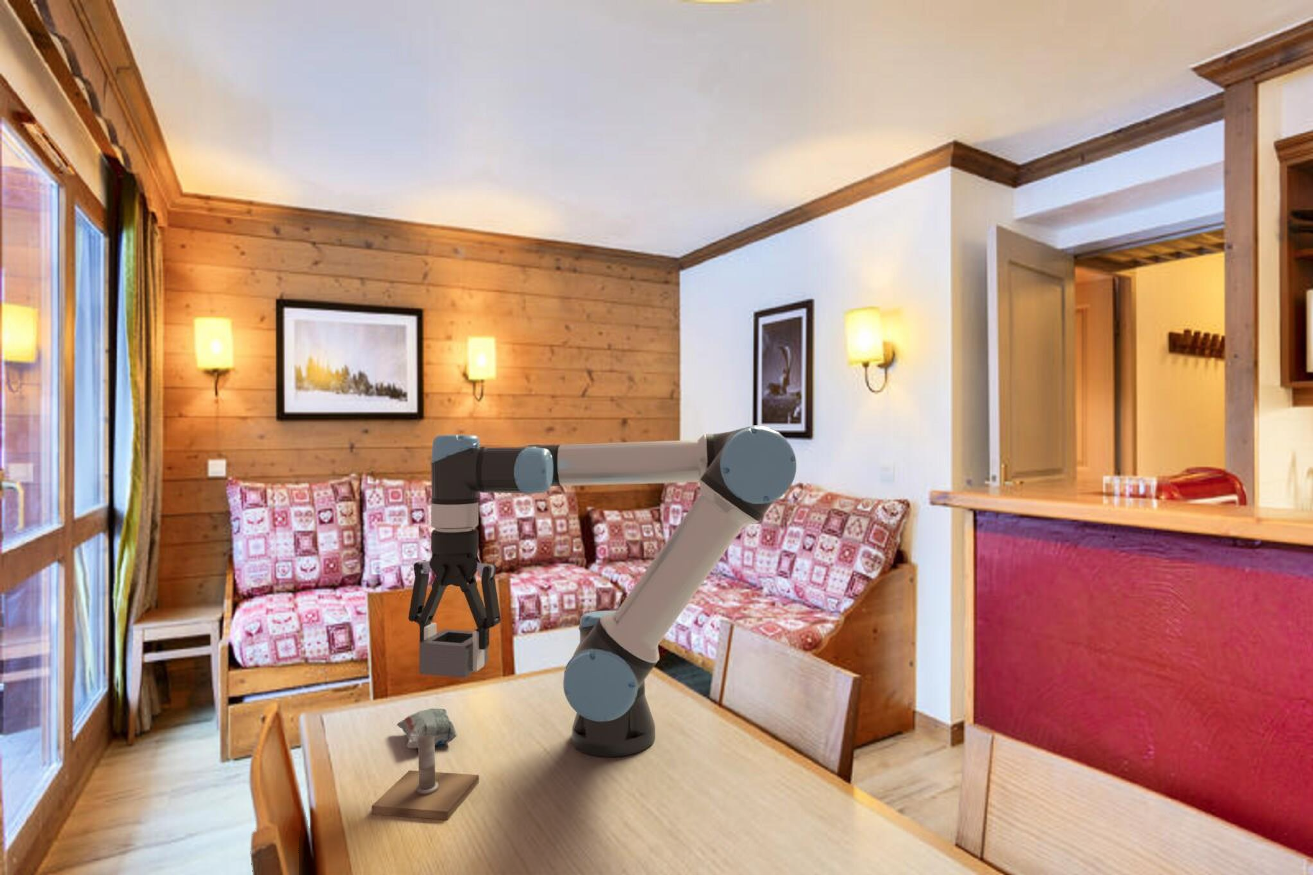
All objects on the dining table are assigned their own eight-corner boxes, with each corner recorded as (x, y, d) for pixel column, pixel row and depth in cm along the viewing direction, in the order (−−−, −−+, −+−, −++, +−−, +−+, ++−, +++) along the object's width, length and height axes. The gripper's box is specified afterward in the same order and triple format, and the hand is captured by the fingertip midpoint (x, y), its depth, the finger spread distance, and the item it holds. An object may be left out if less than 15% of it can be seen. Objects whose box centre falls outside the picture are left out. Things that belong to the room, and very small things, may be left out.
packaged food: (407, 759, 122) (407, 730, 122) (397, 734, 133) (396, 707, 133) (458, 748, 126) (457, 721, 126) (444, 724, 137) (444, 699, 137)
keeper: (478, 782, 114) (477, 725, 113) (447, 819, 103) (446, 756, 103) (409, 777, 115) (408, 721, 115) (371, 813, 105) (370, 751, 105)
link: (487, 661, 120) (487, 632, 120) (465, 678, 112) (465, 646, 112) (444, 658, 121) (444, 629, 121) (419, 673, 113) (419, 642, 113)
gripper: (523, 527, 118) (522, 663, 118) (410, 523, 122) (409, 654, 122) (504, 534, 110) (503, 679, 111) (384, 529, 115) (384, 668, 115)
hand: (454, 666), depth 116 cm, fingers closed on link, 8 cm apart
